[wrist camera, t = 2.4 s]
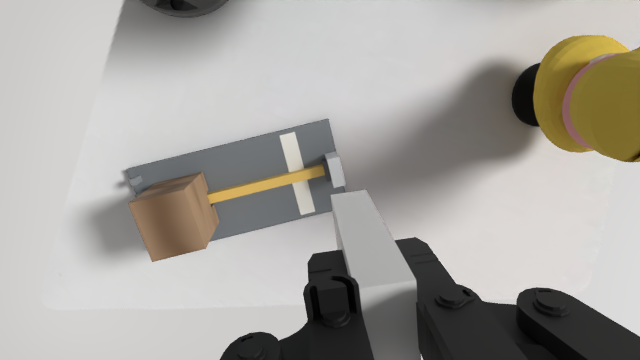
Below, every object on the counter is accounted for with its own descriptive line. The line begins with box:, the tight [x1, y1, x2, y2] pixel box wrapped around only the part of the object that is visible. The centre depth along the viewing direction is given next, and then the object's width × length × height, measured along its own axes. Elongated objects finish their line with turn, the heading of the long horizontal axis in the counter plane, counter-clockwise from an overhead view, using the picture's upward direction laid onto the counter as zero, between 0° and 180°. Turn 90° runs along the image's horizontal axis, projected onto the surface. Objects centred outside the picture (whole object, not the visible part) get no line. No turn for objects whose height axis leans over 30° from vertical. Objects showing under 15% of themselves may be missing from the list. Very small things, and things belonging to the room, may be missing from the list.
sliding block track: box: [126, 119, 346, 242], centre depth 45 cm, size 26×12×4 cm, turn 103°
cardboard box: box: [128, 172, 220, 262], centre depth 42 cm, size 6×7×8 cm
